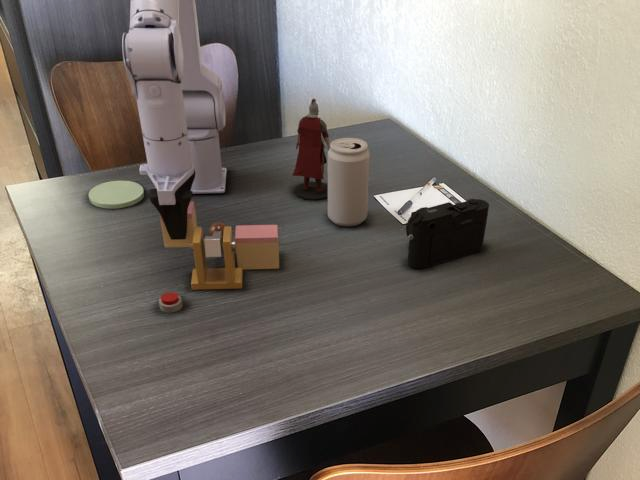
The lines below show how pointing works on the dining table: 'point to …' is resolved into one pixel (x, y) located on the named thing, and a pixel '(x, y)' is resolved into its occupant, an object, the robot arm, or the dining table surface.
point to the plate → (116, 194)
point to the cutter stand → (219, 276)
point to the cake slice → (190, 230)
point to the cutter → (214, 240)
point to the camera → (446, 232)
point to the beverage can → (348, 181)
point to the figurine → (311, 155)
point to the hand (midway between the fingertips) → (179, 230)
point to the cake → (257, 246)
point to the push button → (170, 302)
